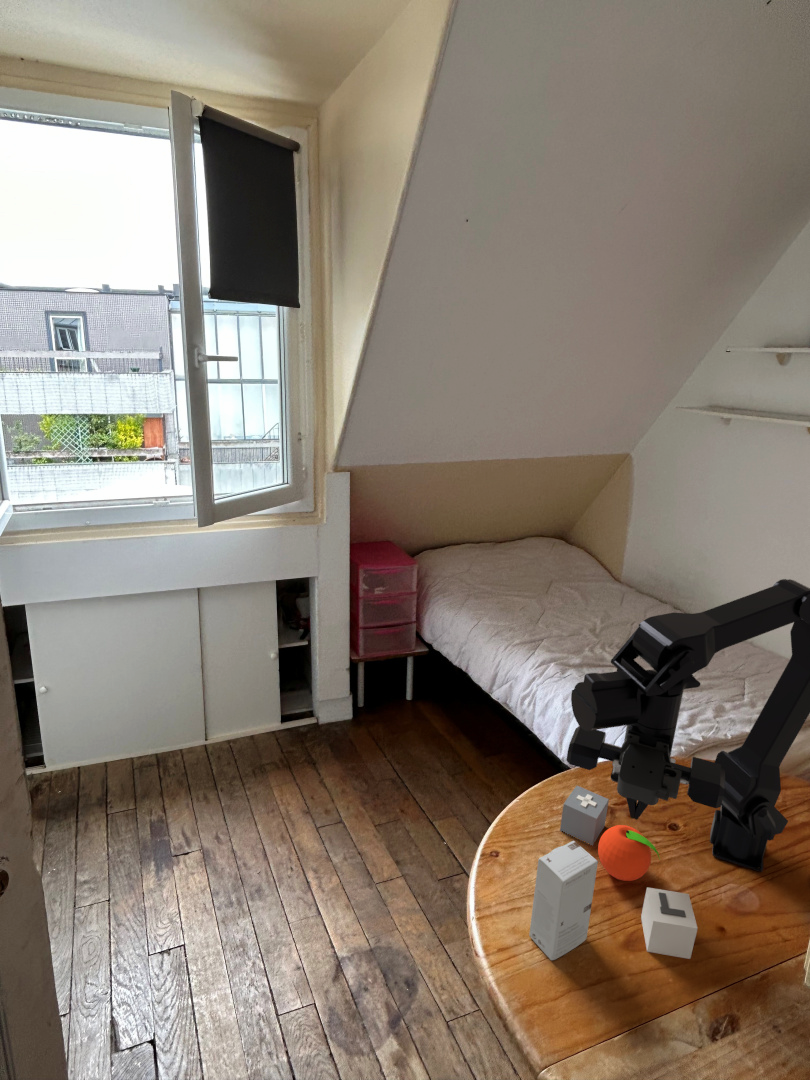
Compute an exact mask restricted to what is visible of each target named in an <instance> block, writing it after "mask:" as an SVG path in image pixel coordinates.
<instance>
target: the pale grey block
mask: <svg viewBox="0 0 810 1080" xmlns="http://www.w3.org/2000/svg"><path fill="white" fill-rule="evenodd" d="M640 918H641V925H642V929H643V930H642V931H643V935H644V942H645V948H646V952H648V953H654V954H660V955H666V956H671V957H676V958H682V959H686V960H687V959H689V960H690V959H691V958H692V953H693V949H694V944H695V941H696V937H697V933H698V924H697V921H696V917H695V913H694V909H693V905H692V901H691V899H690V894H689V893H685V892H679V891H672V890H666V889H660V888H653V887H646V890H645V895H644V900H643V905H642V910H641V916H640Z"/></svg>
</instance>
